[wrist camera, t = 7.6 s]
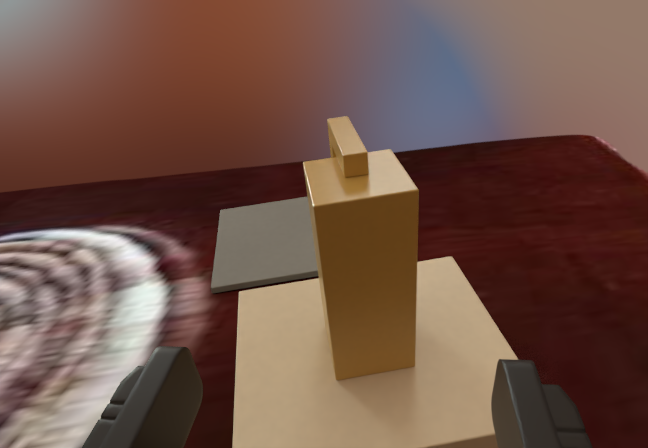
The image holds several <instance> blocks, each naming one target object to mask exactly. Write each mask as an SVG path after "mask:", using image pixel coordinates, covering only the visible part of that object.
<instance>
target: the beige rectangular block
mask: <svg viewBox="0 0 648 448" xmlns="http://www.w3.org/2000/svg"><path fill="white" fill-rule="evenodd" d="M499 359H511V360H518V358H517V357H516V355H515V354H514V352H513V351H512V349H511V347H510V346H509V344H508V343H507V341H506V340H505V338H504V337H503V335H502V333H501V332H500V330H499V329H498V327H497V326H496V324H495V323H494V321H493V319H492V318H491V316H490V315H489V313H488V312H487V310H486V309H485V307H484V305H483V304H482V302H481V301H480V299H479V298H478V296H477V295H476V293H475V291H474V290H473V288H472V287H471V285H470V284H469V282H468V281H467V279H466V277H465V276H464V274H463V273H462V271H461V270H460V268H459V267H458V265H457V263H456V262H455V260H454V259H453V257H445V258H438V259H432V260H426V261H420V262H417V300H416V350H415V366H414V367H409V368H404V369H398V370H393V371H387V372H381V373H376V374H370V375H365V376H359V377H354V378H348V379H343V380H336V378H335V373H334V368H333V363H332V357H331V352H330V347H329V342H328V336H327V331H326V326H325V320H324V312H323V305H322V298H321V291H320V283H319V278H318V279H312V280H306V281H300V282H294V283H288V284H282V285H276V286H270V287H263V288H257V289H251V290H245V291H240V292H239V302H238V326H237V350H236V374H235V399H234V423H233V447H232V448H498V445H497V440H496V435H495V431H494V426H493V420H492V411H491V398H492V391H493V386H494V380H495V374H496V368H497V363H498V360H499Z"/></svg>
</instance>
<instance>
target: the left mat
mask: <svg viewBox="0 0 648 448" xmlns="http://www.w3.org/2000/svg"><path fill="white" fill-rule="evenodd" d="M315 276H318V269H317V261H316V254H315V247H314V239H313V232H312V225H311V218H310V210H309V203H308V197H303V198H296V199H290V200H283V201H277V202H270V203H264V204H257V205H251V206H244V207H238V208H231V209H225V210H221V211H220V219H219V227H218V235H217V243H216V251H215V259H214V267H213V275H212V283H211V290H212V293H219V292H225V291H231V290H237V289H243V288H249V287H255V286H261V285H267V284H273V283H279V282H285V281H291V280H297V279H303V278H309V277H315Z"/></svg>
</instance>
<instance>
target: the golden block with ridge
mask: <svg viewBox="0 0 648 448" xmlns="http://www.w3.org/2000/svg"><path fill="white" fill-rule="evenodd" d="M327 122H328V132H329V142H330V153H331V158H327V159H321V160H314V161H307V162H303V167H304V174H305V181H306V188H307V196H308V203H309V210H310V218H311V225H312V232H313V239H314V247H315V254H316V261H317V269H318V276H319V283H320V291H321V298H322V305H323V312H324V320H325V326H326V331H327V336H328V342H329V347H330V352H331V357H332V363H333V368H334V373H335V378H336V380H343V379H348V378H354V377H359V376H365V375H370V374H376V373H381V372H387V371H393V370H398V369H404V368H409V367H414V366H415V350H416V300H417V251H418V202H419V190H418V188H417V187H416V185H415V184H414V182H413V181H412V180H411V178H410V177H409V175H408V174H407V172H406V171H405V169H404V168H403V166H402V165H401V163H400V162H399V160H398V159H397V158H396V156H395V155H394V153H393V152H392V150H391V149H388V150H381V151H375V152H367V150H366V149H365V147H364V145H363V143H362V141H361V140H360V138H359V136H358V134H357V132H356V131H355V129H354V127H353V125H352V123H351V122H350V120H349V118H348V117H347V116H345V117H339V118H331V119H328V120H327Z"/></svg>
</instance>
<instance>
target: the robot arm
mask: <svg viewBox="0 0 648 448" xmlns="http://www.w3.org/2000/svg"><path fill="white" fill-rule="evenodd" d="M202 395H203V385H202V381H201V378H200V376H199V373H198V371H197V368H196V366H195V363H194V360H193V358H192V355H191V353H190V350H189V349H188V348H187V347H165V346H160V347H158V348H156V349H155V351H154V352H153V354H152V355H151V357H150V359H149V361H148V362H147V364H146V366H138V367H136V368H135V369H134V370H133V371H132V372H131V373H130V374H129V375H128V376H127V377H126V378H125V379H124V380H123V381H122V382H121V383H120V385H119V387H118V388H117V390H116V392H115V393H114V395H113V397H112V398H111V400H110V404H108V405H107V407H106V408H105V410H104V412H103V413H102V415H101V419H100V420H98V422H97V423H96V425H95V427H94V428H93V430H92V432H91V433H90V435H89V437H88V438H87V440H86V442H85V443H84V445H83V447H82V448H183V447H184V444H185V442H186V439H187V437H188V434H189V432H190V429H191V427H192V424H193V422H194V419H195V417H196V415H197V412H198V410H199V407H200V404H201V401H202ZM491 411H492V420H493V426H494V431H495V435H496V440H497V445H498V448H592V445H591V442H590V440H589V437H588V435H587V434H586V432H585V427H584V424H583V422H582V419H581V417H580V414H579V412H578V409H577V406H576V405H575V404H574V402H573V401H572V400H571V399H570V398H569V397H568V395H567V394H566V393H565V392H564V391H563V390H562V388H561V387H560V386H559V385H544V384H541V381H540V378H539V375H538V372H537V369H536V366H535V364H534V362H533V361H532V360H511V359H499V360H498V363H497V368H496V374H495V380H494V386H493V391H492V398H491Z"/></svg>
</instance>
